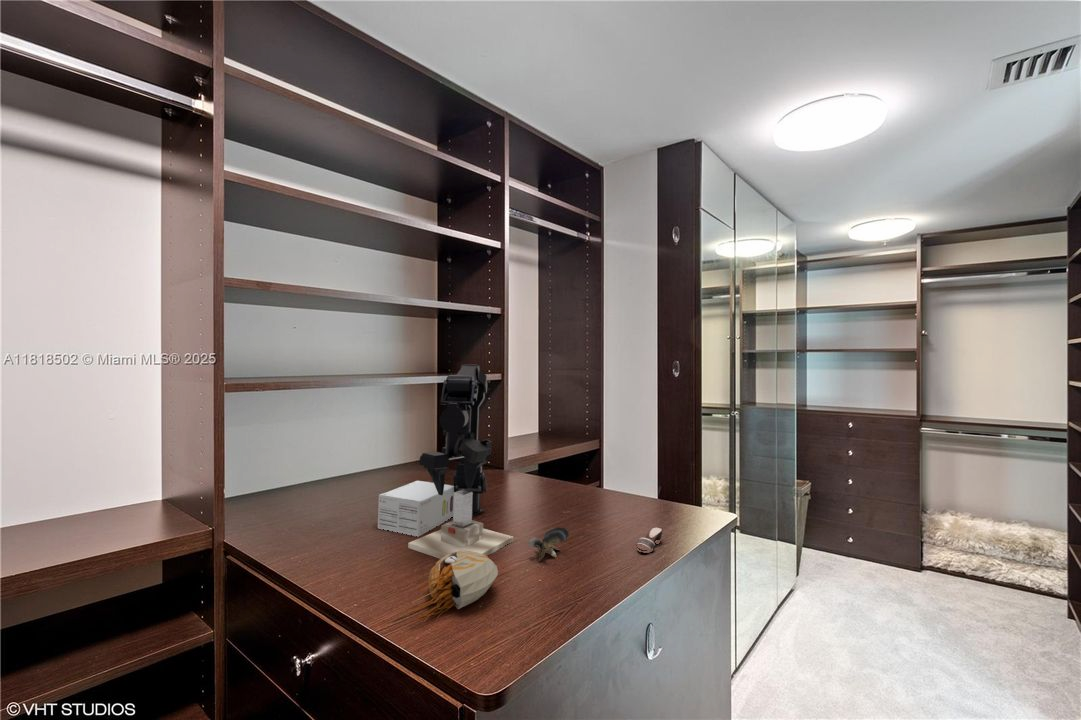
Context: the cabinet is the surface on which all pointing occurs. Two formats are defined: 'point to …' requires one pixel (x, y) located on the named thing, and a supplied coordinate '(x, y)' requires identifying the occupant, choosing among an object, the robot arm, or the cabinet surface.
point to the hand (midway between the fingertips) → (455, 491)
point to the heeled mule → (651, 538)
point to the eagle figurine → (549, 541)
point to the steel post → (462, 509)
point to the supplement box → (415, 508)
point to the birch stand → (460, 540)
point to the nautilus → (458, 580)
